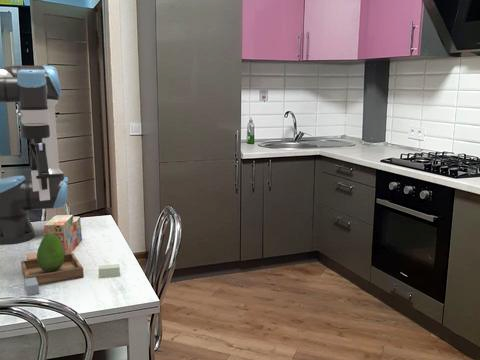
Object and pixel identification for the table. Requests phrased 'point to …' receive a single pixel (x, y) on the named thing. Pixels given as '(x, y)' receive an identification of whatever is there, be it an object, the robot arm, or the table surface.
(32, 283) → the slate brick
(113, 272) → the sage brick
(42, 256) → the fruit
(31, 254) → the terracotta brick
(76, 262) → the tray
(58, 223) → the stack of blocks
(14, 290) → the table surface
